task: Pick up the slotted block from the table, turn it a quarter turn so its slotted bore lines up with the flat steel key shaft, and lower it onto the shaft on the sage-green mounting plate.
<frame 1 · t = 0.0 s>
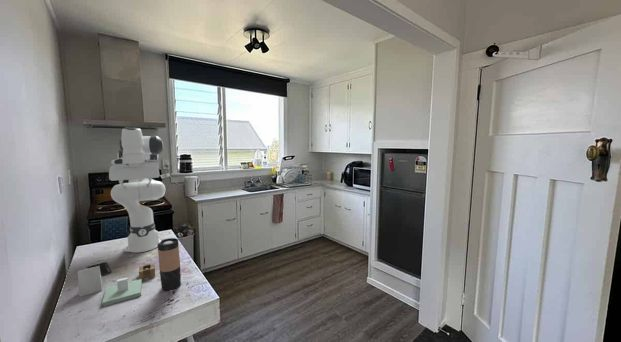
hand: (136, 188, 122), 39 cm above the table, tool pointing down, fingers open, 8 cm apart
white boxy piece: (91, 291, 103), on the table
phone: (98, 272, 120), on the table
travel mug: (171, 286, 106), on the table
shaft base: (123, 293, 102), on the table
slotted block: (147, 275, 115), on the table
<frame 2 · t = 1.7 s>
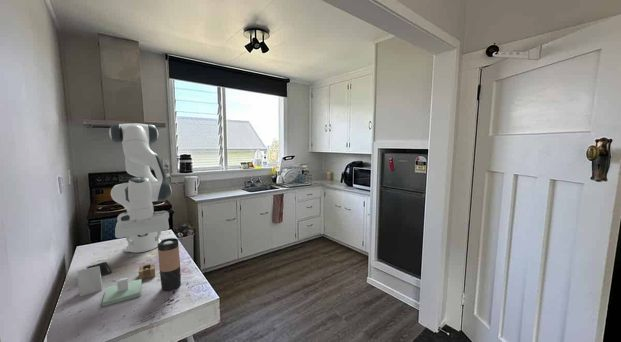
hand: (144, 243, 113), 16 cm above the table, tool pointing down, fingers open, 8 cm apart
nothing on the table moved.
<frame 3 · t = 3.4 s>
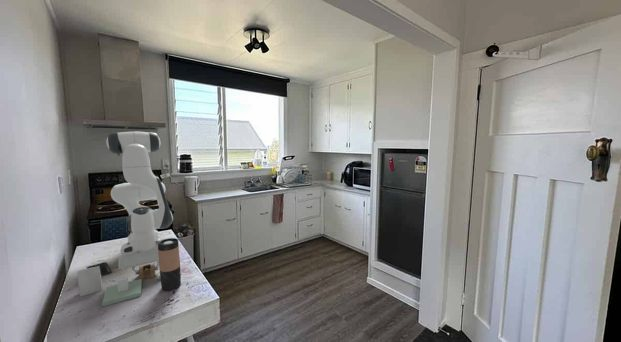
hand: (147, 272, 115), 2 cm above the table, tool pointing down, fingers closed on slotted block, 6 cm apart
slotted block: (147, 275, 115), on the table, touching gripper
everything else where it was.
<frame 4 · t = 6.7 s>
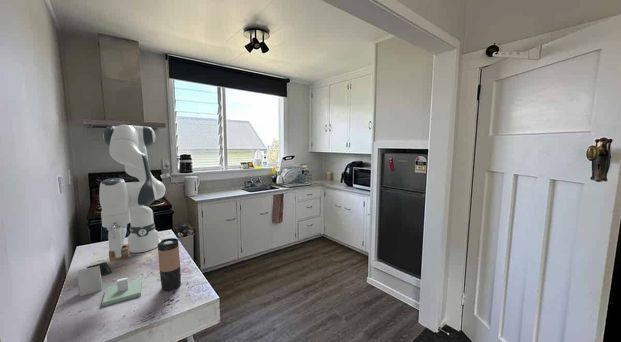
hand: (119, 253, 100), 17 cm above the table, tool pointing down, fingers closed on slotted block, 6 cm apart
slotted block: (120, 257, 100), point 15 cm above the table, touching gripper
everything else where it was.
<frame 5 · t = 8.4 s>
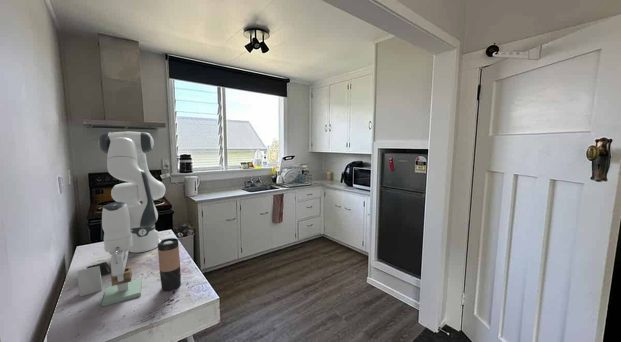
hand: (121, 276, 101), 7 cm above the table, tool pointing down, fingers closed on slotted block, 6 cm apart
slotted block: (122, 280, 101), point 6 cm above the table, touching gripper
everything else where it was.
when the fingers open (4 cm above the table, at t = 10.0 s): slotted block stays where it is, resting on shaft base.
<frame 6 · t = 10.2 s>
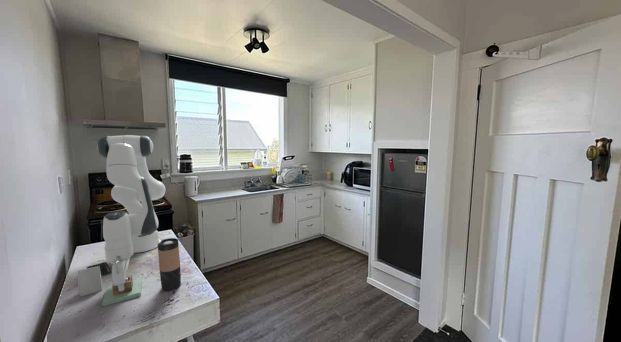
hand: (122, 284, 102), 4 cm above the table, tool pointing down, fingers open, 8 cm apart
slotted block: (123, 289, 102), point 1 cm above the table, touching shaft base
everything else where it was.
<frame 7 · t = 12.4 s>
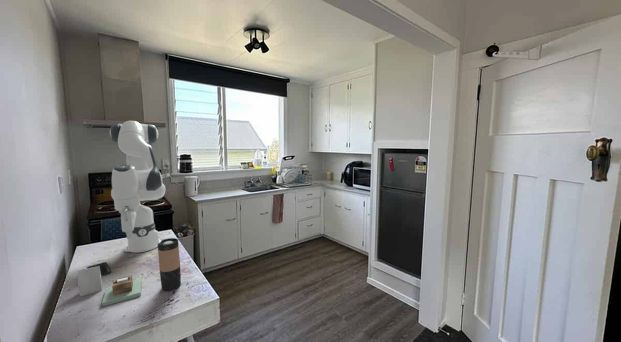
hand: (130, 234, 108), 22 cm above the table, tool pointing down, fingers open, 8 cm apart
nothing on the table moved.
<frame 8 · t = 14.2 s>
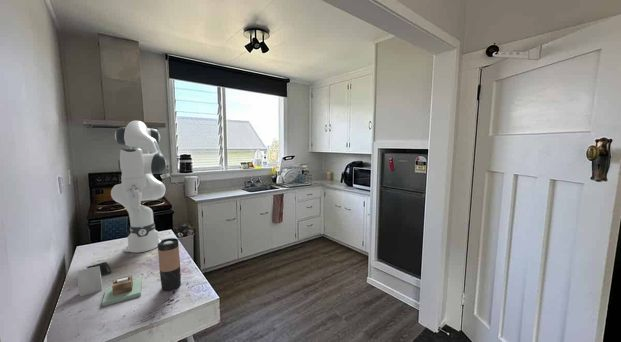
hand: (136, 214, 113), 29 cm above the table, tool pointing down, fingers open, 8 cm apart
nothing on the table moved.
at the end: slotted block 0.1 cm from the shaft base (horizontally); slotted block point 1.5 cm above the table; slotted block tilted 0° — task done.
